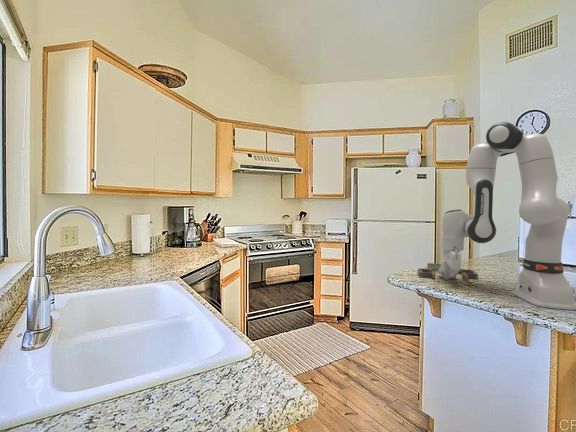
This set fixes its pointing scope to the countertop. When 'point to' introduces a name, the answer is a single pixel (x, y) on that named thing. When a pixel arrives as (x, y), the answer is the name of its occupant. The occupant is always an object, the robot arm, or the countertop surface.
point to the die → (446, 271)
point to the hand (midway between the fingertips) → (451, 275)
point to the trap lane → (435, 267)
